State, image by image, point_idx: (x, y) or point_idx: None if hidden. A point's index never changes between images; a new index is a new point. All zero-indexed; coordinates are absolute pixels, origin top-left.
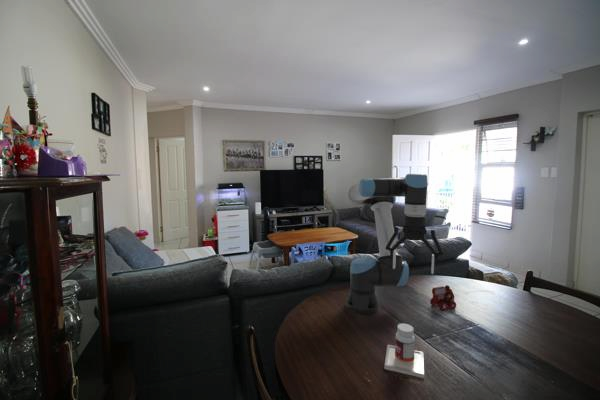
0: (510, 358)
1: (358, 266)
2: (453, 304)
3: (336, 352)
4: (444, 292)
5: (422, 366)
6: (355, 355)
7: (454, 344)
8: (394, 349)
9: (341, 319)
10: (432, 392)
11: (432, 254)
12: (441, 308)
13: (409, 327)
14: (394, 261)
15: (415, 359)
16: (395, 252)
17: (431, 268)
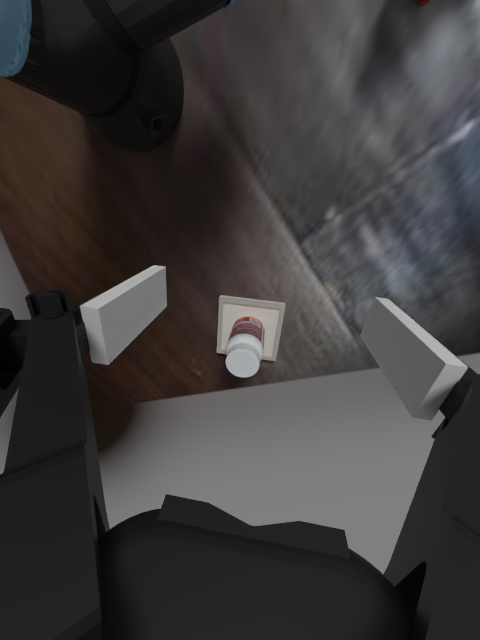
0: (473, 271)
1: None
2: None
3: None
4: None
5: (276, 344)
6: (170, 328)
7: (366, 246)
8: (232, 307)
9: (104, 202)
10: (281, 379)
11: (449, 366)
12: (423, 2)
13: (251, 362)
14: (143, 325)
15: (267, 327)
16: (109, 342)
17: (375, 335)
